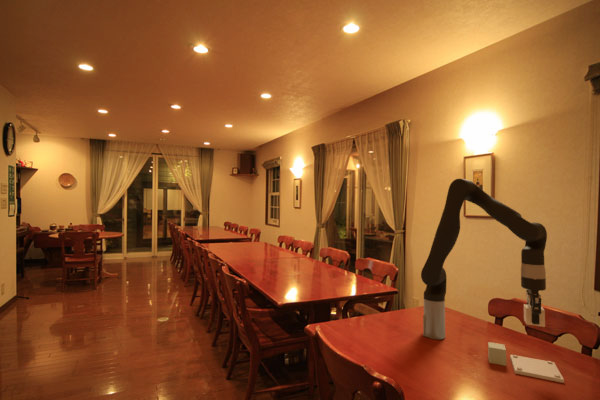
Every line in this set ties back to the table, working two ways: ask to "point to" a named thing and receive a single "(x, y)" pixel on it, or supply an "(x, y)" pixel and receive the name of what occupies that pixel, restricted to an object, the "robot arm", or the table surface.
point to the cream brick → (529, 316)
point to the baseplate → (536, 368)
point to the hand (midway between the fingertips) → (534, 321)
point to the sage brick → (497, 353)
